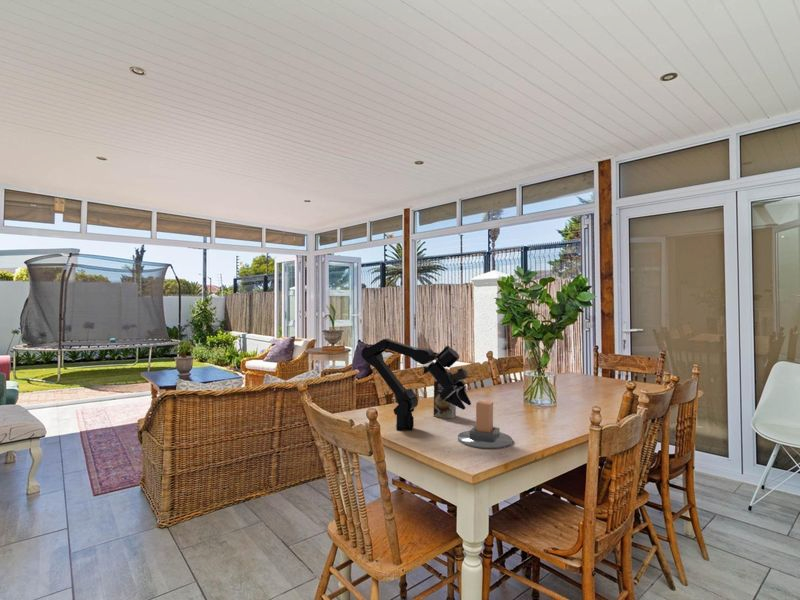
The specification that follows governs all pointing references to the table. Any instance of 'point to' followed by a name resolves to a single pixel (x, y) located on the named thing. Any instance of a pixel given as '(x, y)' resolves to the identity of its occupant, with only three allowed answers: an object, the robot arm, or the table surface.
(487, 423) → the tan wooden block
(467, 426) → the table surface
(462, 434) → the grey disc base
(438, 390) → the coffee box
